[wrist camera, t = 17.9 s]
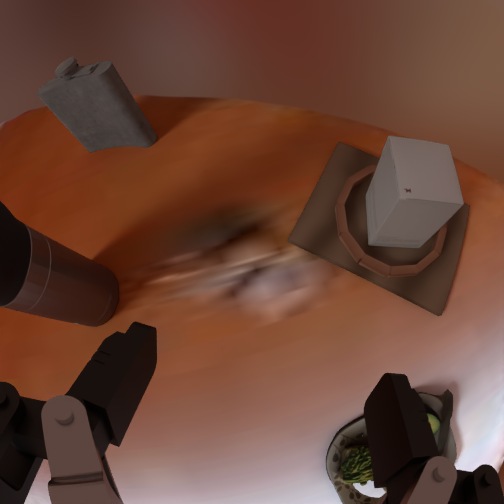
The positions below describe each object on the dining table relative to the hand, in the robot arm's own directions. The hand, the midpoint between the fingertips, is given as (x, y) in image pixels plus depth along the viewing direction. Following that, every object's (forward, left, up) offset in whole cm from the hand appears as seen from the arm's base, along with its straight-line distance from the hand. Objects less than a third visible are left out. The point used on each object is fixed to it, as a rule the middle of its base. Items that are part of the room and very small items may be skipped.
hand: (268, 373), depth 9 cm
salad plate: (+19, -6, -26) cm, 33 cm away
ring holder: (+5, +21, -26) cm, 33 cm away
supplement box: (+5, +21, -25) cm, 33 cm away
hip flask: (-42, +17, -26) cm, 52 cm away
